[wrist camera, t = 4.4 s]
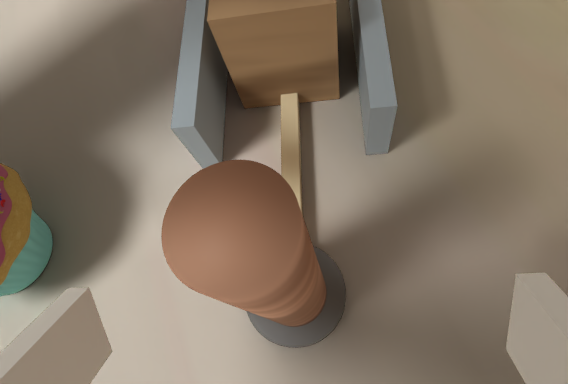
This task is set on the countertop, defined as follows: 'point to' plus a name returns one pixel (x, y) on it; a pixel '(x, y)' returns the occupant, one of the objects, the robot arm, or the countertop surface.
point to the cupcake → (20, 236)
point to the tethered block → (263, 179)
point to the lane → (213, 82)
